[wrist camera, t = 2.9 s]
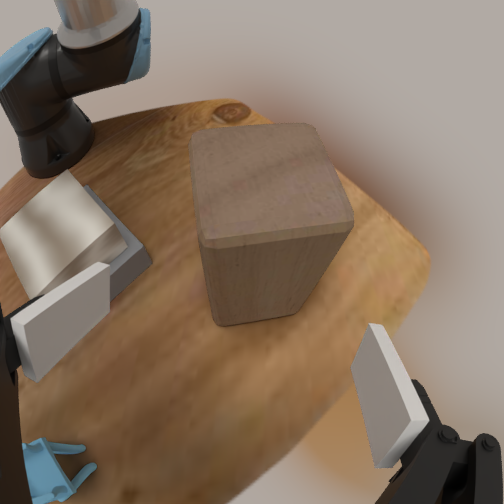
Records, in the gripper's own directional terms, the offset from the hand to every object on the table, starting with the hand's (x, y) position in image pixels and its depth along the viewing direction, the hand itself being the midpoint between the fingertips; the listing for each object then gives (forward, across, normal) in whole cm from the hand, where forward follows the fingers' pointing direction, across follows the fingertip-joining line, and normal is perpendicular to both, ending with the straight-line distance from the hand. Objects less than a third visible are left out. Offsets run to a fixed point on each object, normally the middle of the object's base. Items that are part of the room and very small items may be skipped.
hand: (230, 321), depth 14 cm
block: (+22, 0, -7) cm, 23 cm away
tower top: (+16, -22, -6) cm, 28 cm away
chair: (+1, -16, -28) cm, 32 cm away
